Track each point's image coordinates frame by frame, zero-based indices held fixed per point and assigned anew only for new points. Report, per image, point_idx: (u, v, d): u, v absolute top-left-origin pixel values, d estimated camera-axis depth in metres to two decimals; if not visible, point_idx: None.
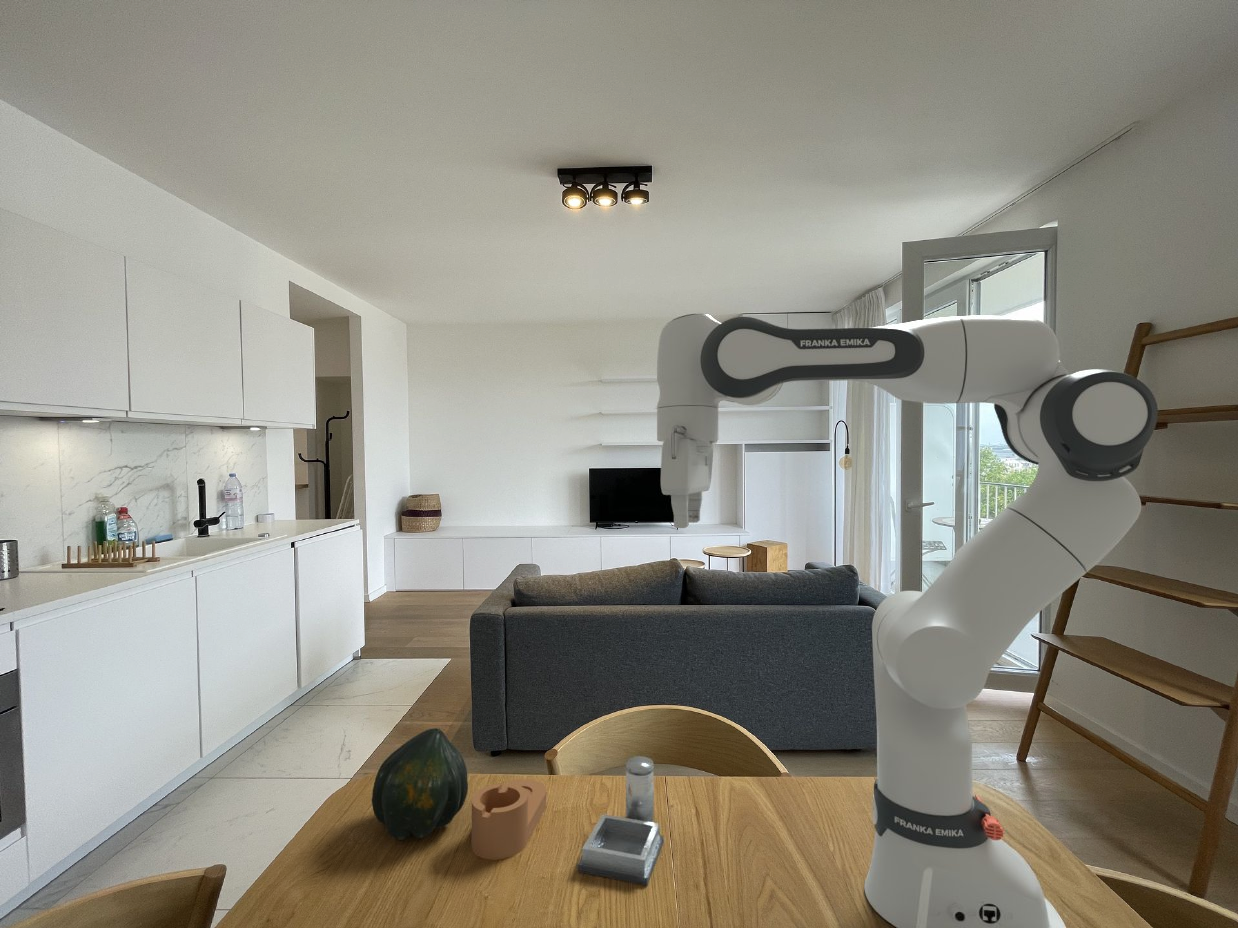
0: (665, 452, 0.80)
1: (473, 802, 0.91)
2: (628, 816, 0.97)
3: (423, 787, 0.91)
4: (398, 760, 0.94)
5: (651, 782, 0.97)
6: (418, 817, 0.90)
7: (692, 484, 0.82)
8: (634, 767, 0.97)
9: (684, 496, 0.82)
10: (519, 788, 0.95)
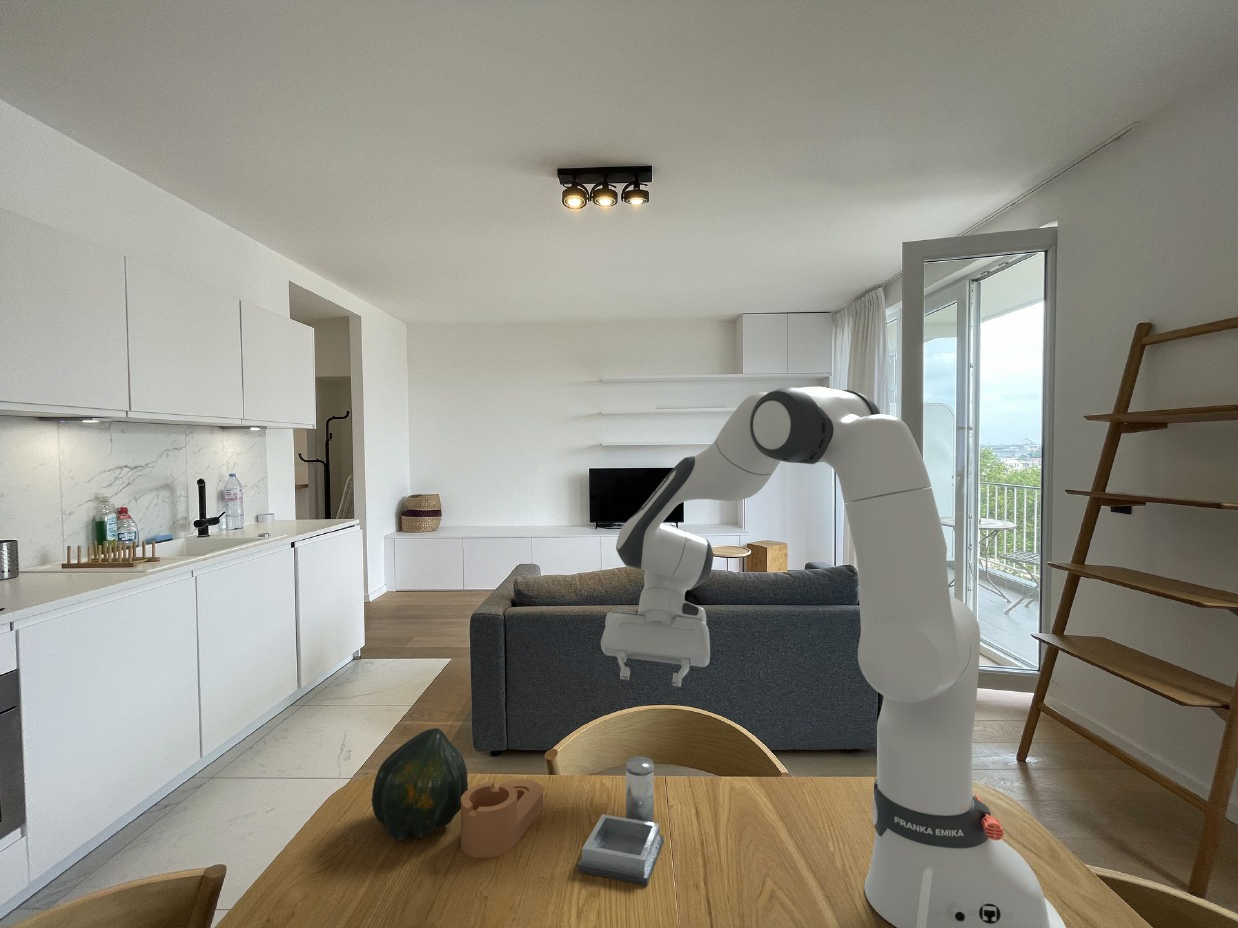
0: None
1: (462, 799, 0.92)
2: (628, 816, 0.97)
3: (423, 787, 0.91)
4: (398, 760, 0.94)
5: (651, 782, 0.97)
6: (418, 817, 0.90)
7: (620, 642, 1.13)
8: (634, 767, 0.97)
9: (618, 652, 1.13)
10: (510, 788, 0.95)
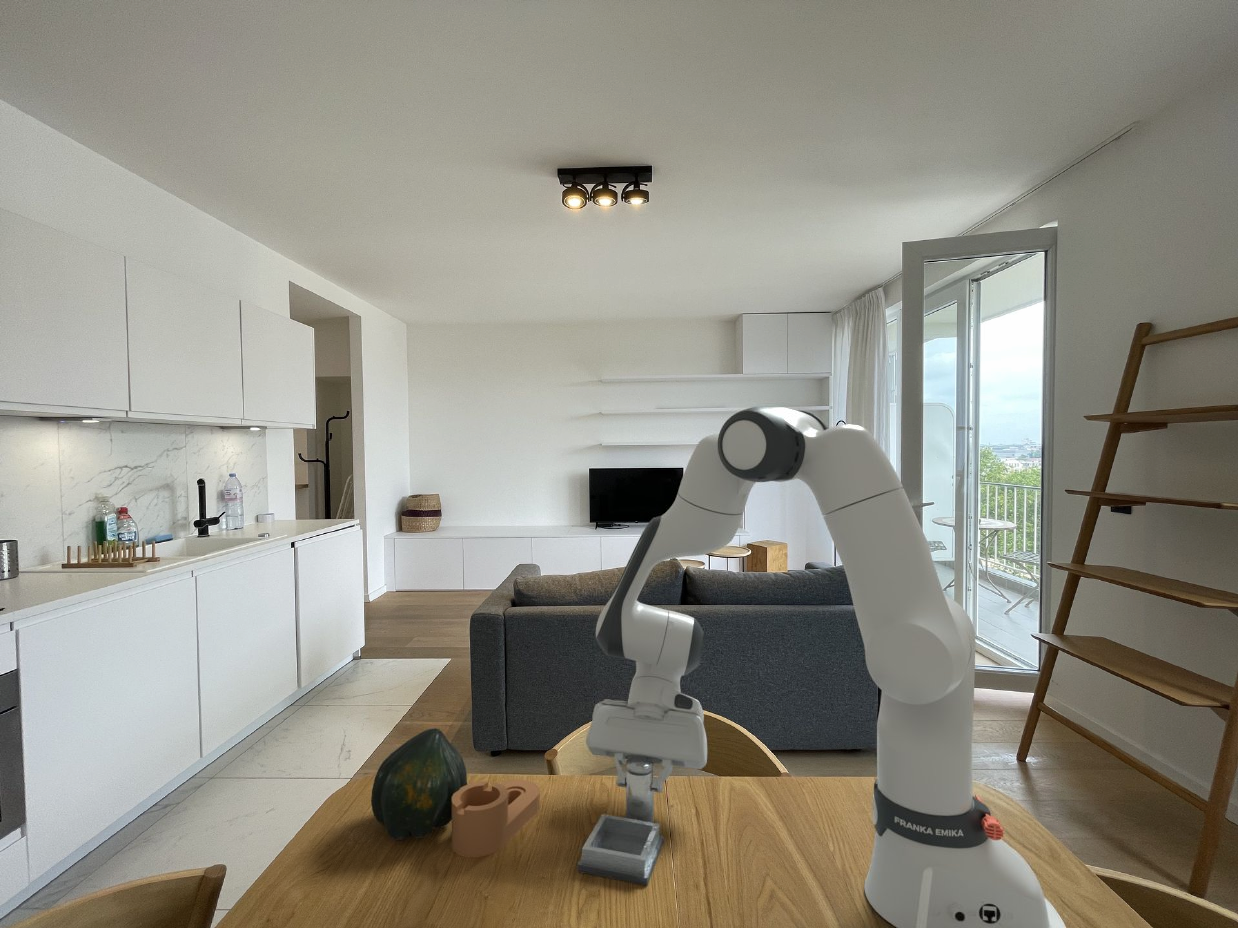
0: None
1: (453, 797, 0.92)
2: (628, 816, 0.97)
3: (423, 787, 0.91)
4: (397, 760, 0.94)
5: (651, 782, 0.97)
6: (417, 817, 0.90)
7: (606, 740, 1.03)
8: (634, 767, 0.97)
9: (615, 754, 1.02)
10: (502, 788, 0.95)
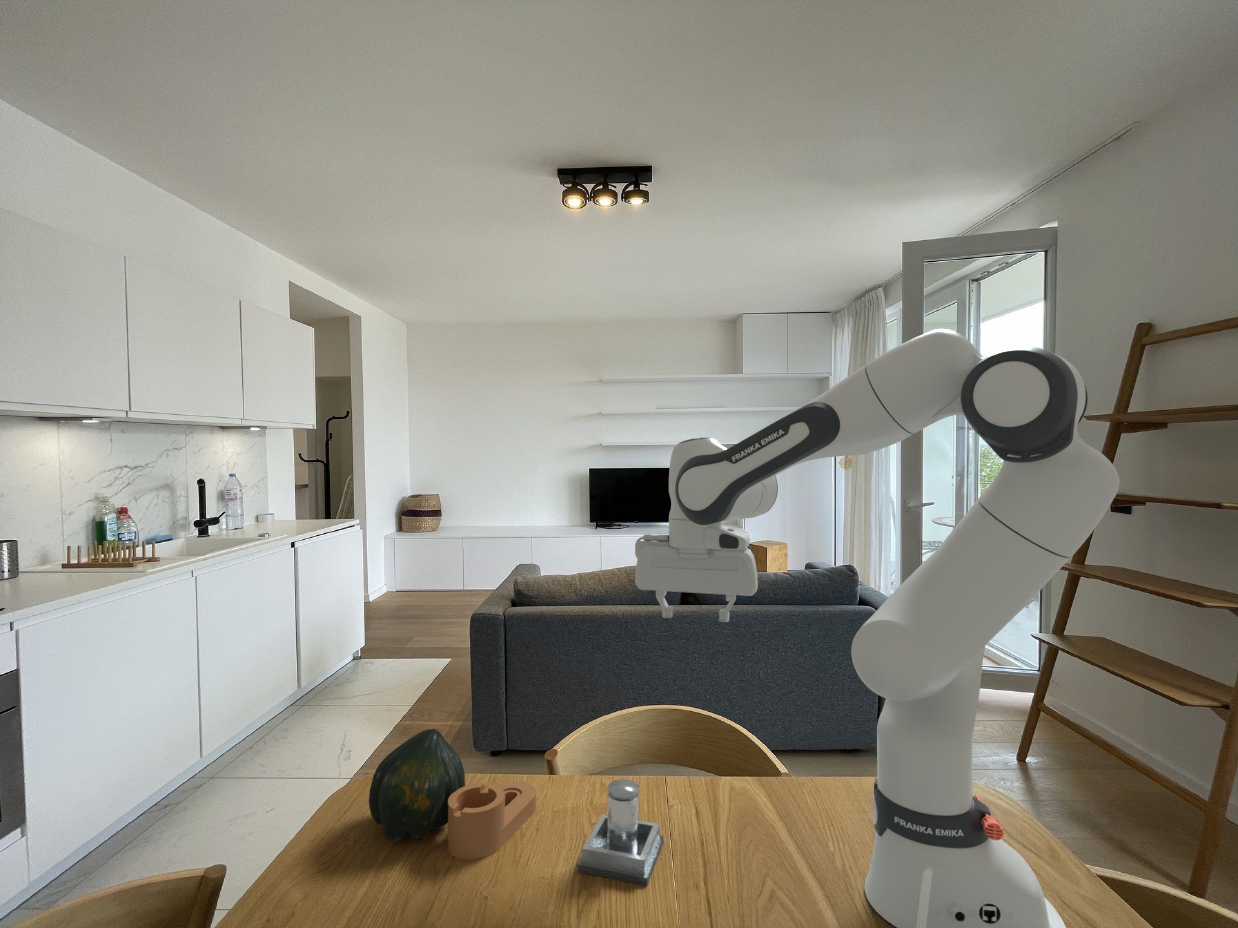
0: None
1: (449, 799, 0.92)
2: (610, 846, 0.88)
3: (420, 788, 0.91)
4: (395, 760, 0.94)
5: (636, 808, 0.88)
6: (414, 818, 0.90)
7: (655, 583, 1.02)
8: (617, 792, 0.87)
9: (656, 591, 1.03)
10: (498, 790, 0.94)
